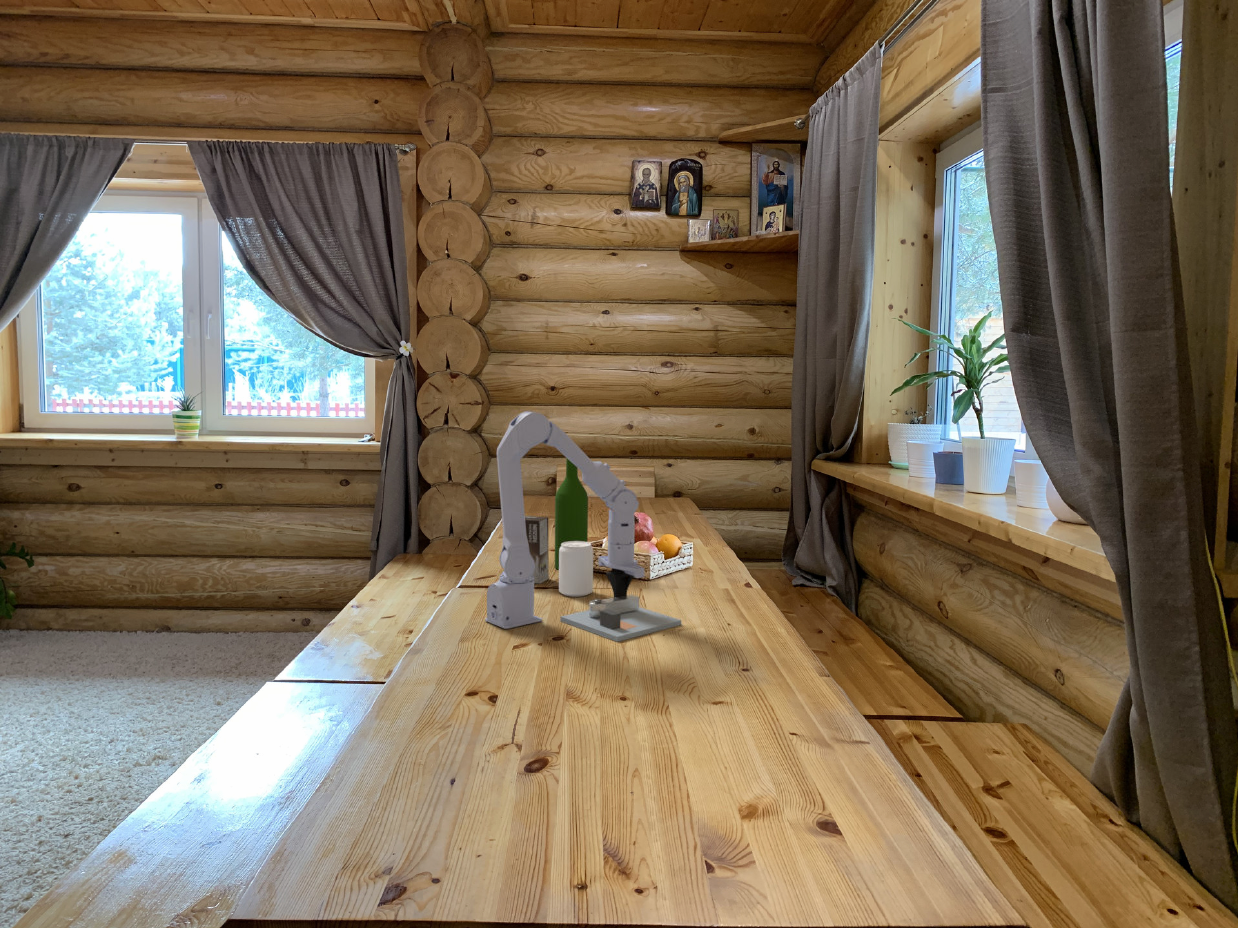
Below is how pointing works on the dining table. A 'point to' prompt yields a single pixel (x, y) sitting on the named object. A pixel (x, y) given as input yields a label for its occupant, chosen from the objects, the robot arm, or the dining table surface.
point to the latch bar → (614, 605)
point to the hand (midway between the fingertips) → (620, 603)
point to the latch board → (621, 623)
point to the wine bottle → (570, 510)
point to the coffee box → (538, 546)
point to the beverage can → (576, 568)
